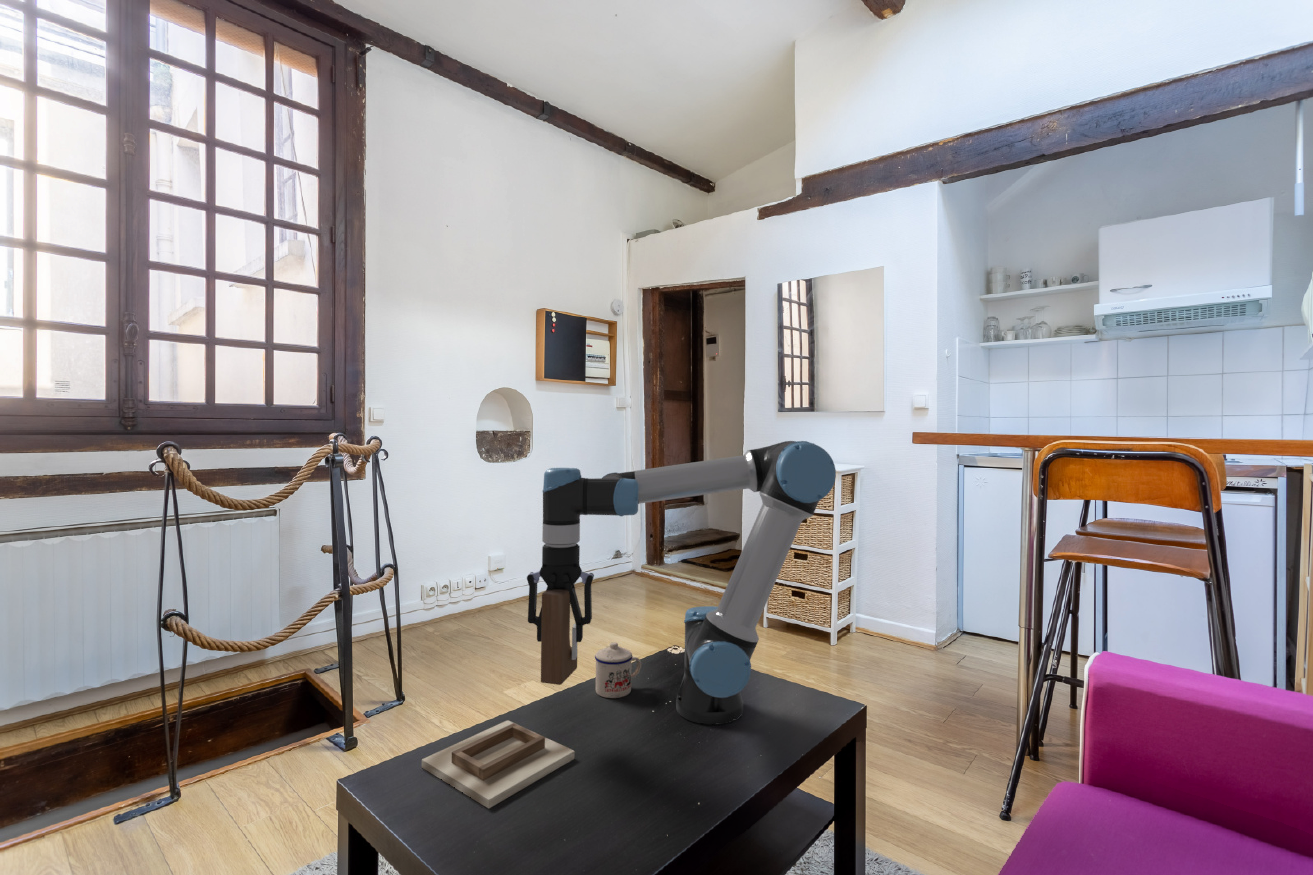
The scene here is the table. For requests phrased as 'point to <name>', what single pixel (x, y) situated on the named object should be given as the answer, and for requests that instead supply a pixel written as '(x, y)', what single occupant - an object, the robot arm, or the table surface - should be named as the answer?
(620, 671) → the teacup with lid
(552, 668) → the wooden block
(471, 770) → the keyed plate
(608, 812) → the table surface
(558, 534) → the robot arm
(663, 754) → the table surface
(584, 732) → the table surface
